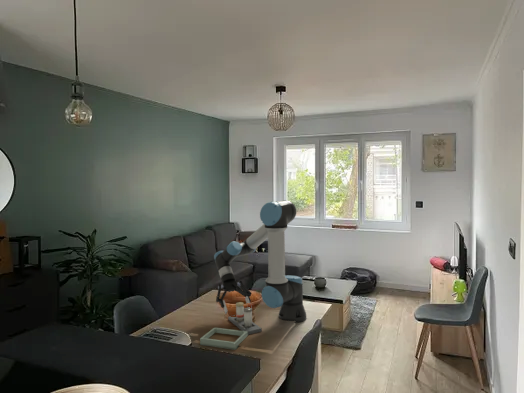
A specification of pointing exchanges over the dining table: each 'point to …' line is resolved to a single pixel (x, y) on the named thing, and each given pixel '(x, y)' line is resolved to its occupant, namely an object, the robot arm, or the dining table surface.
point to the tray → (223, 344)
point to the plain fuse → (247, 317)
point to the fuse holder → (240, 325)
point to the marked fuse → (239, 311)
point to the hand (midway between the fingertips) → (238, 310)
